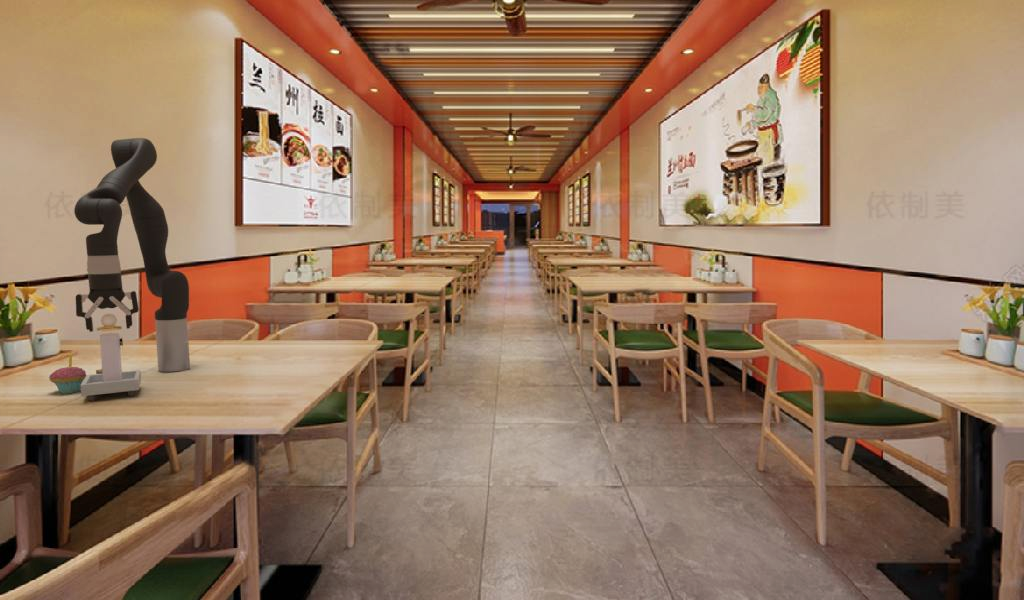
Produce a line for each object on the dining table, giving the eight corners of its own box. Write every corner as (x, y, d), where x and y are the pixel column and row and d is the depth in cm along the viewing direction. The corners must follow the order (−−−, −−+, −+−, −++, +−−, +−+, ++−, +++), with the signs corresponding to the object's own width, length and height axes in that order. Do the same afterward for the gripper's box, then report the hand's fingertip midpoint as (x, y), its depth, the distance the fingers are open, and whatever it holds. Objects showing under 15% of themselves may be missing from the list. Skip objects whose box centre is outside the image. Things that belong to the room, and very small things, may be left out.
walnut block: (112, 380, 182) (111, 367, 182) (116, 382, 180) (115, 369, 179) (96, 382, 179) (95, 370, 179) (100, 385, 176) (99, 372, 176)
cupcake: (94, 389, 171) (91, 348, 170) (64, 396, 163) (60, 354, 162) (74, 386, 174) (70, 346, 173) (43, 393, 166) (39, 352, 165)
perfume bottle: (108, 387, 162) (103, 315, 160) (95, 385, 164) (91, 314, 162) (129, 382, 167) (125, 313, 165) (116, 380, 169) (112, 312, 167)
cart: (141, 386, 174) (140, 370, 174) (139, 396, 163) (138, 379, 163) (88, 392, 168) (86, 375, 168) (81, 403, 157) (80, 385, 156)
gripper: (135, 269, 168) (140, 325, 170) (74, 272, 161) (80, 330, 163) (134, 271, 162) (139, 329, 164) (70, 274, 155) (76, 334, 157)
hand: (110, 329), depth 164 cm, fingers open, 8 cm apart
